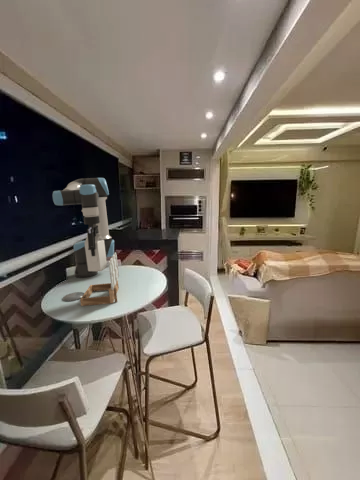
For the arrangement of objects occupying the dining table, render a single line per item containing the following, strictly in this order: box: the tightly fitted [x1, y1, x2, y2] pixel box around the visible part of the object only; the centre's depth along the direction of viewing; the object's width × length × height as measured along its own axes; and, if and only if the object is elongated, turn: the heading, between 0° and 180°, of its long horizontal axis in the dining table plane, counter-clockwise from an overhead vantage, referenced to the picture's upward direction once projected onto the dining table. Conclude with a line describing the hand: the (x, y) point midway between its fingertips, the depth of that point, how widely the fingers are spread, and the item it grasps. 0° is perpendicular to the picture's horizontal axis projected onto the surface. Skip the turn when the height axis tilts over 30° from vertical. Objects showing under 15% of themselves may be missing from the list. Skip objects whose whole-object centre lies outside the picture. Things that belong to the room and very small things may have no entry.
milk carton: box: [84, 234, 108, 272], centre depth 133 cm, size 7×7×19 cm
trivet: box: [62, 291, 85, 302], centre depth 138 cm, size 11×11×1 cm
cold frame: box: [79, 252, 120, 307], centre depth 135 cm, size 20×17×21 cm
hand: (96, 259), depth 133 cm, fingers closed on milk carton, 8 cm apart
